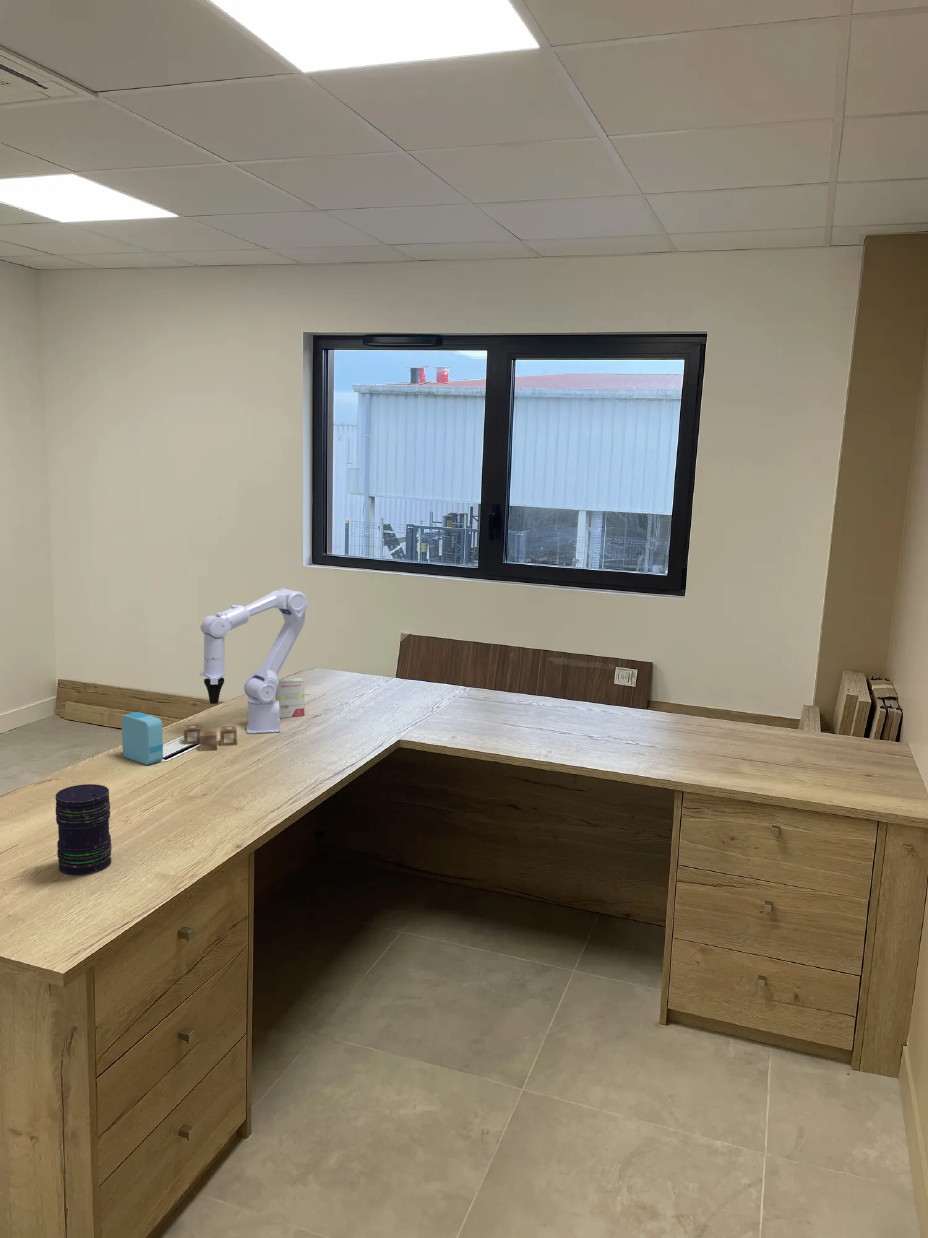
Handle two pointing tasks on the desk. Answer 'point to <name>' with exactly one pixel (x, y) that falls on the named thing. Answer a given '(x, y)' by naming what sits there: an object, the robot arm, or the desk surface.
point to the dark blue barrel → (83, 829)
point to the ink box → (290, 697)
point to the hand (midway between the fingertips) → (214, 703)
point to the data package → (142, 738)
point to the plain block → (208, 740)
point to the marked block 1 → (192, 734)
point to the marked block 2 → (228, 735)
